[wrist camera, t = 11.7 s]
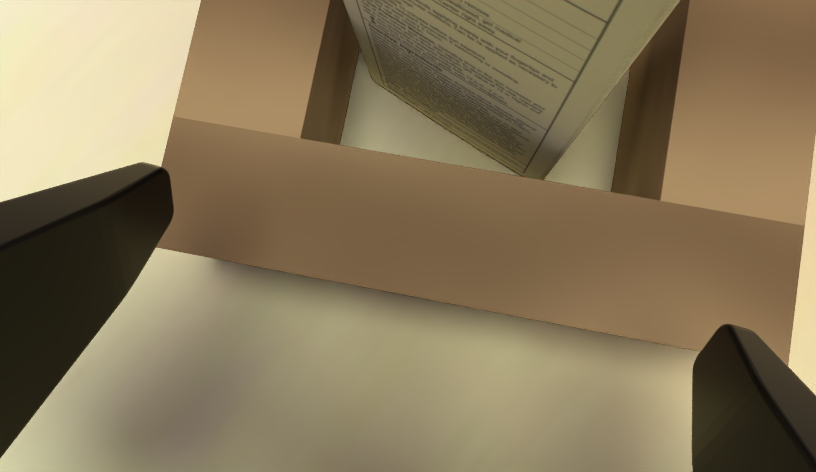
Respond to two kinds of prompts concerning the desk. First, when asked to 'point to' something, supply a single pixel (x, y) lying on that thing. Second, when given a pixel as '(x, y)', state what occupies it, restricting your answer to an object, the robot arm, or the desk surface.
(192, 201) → the frame
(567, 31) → the skincare box
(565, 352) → the desk surface
